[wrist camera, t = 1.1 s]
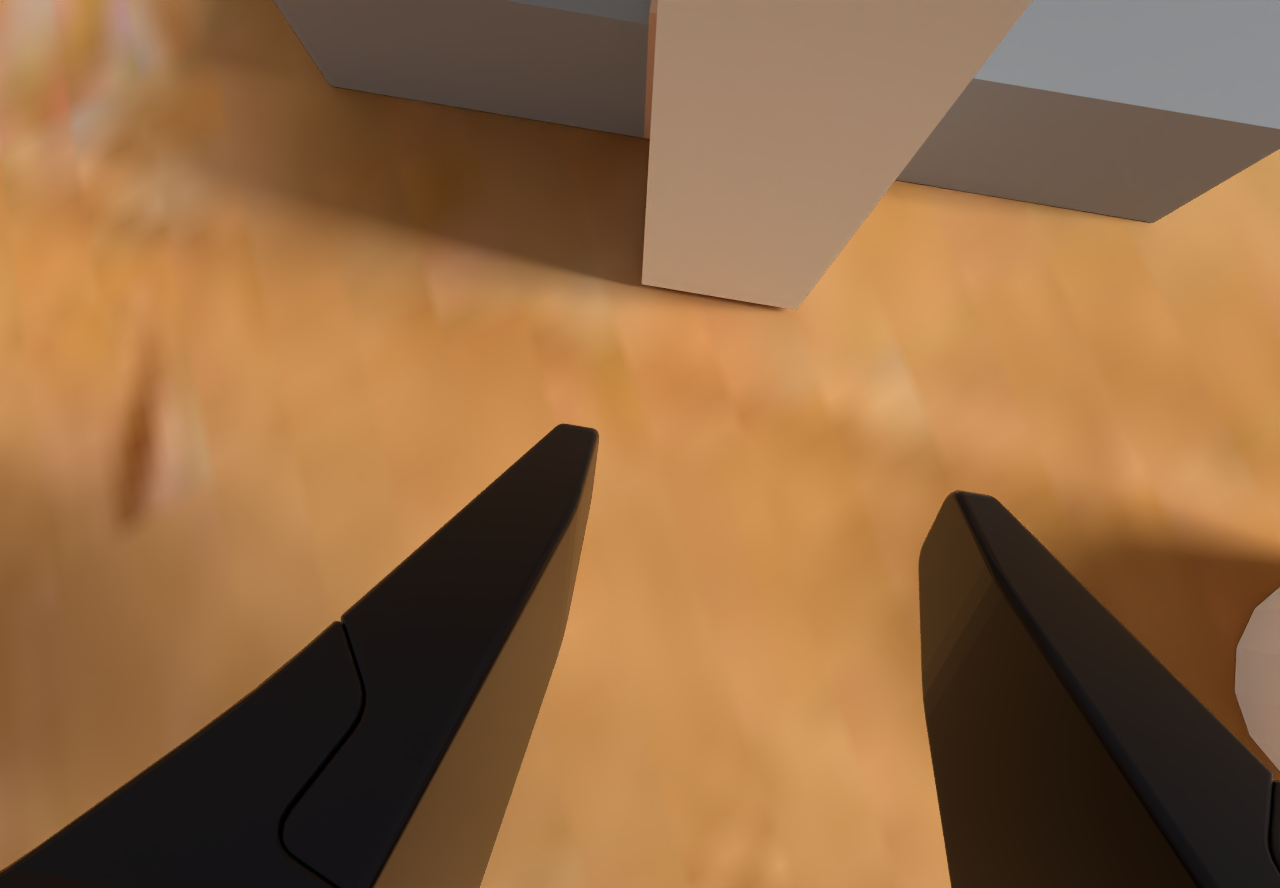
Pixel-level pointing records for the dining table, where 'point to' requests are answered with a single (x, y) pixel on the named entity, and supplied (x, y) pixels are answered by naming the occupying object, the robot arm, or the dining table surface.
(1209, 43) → the grey blocks
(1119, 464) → the dining table surface
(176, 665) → the dining table surface
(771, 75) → the peg block
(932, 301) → the dining table surface
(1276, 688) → the shot glass
